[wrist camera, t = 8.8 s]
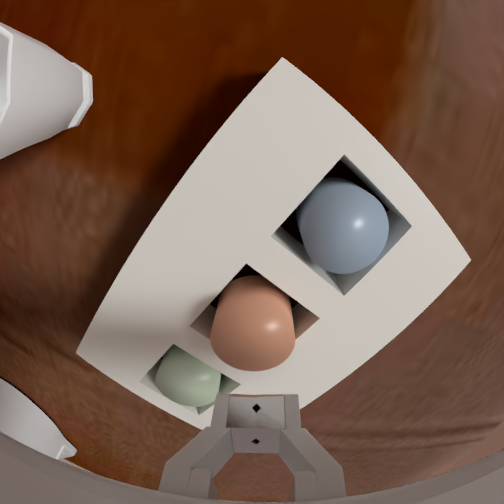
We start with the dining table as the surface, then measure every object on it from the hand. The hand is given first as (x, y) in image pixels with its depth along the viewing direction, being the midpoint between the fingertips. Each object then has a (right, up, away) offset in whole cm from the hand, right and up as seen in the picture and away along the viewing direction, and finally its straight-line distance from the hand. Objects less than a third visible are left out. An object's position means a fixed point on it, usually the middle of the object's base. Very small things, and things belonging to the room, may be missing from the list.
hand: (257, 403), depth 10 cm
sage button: (-4, -2, +9) cm, 10 cm away
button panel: (0, +3, +8) cm, 8 cm away
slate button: (+4, +8, +5) cm, 10 cm away
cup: (-13, +15, +3) cm, 20 cm away
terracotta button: (0, +3, +6) cm, 7 cm away
